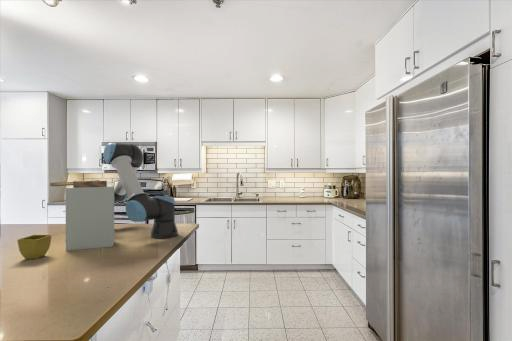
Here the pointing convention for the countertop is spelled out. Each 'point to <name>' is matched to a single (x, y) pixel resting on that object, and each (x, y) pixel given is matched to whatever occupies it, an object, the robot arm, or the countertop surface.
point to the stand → (89, 217)
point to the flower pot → (34, 246)
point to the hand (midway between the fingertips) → (96, 190)
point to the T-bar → (89, 183)
